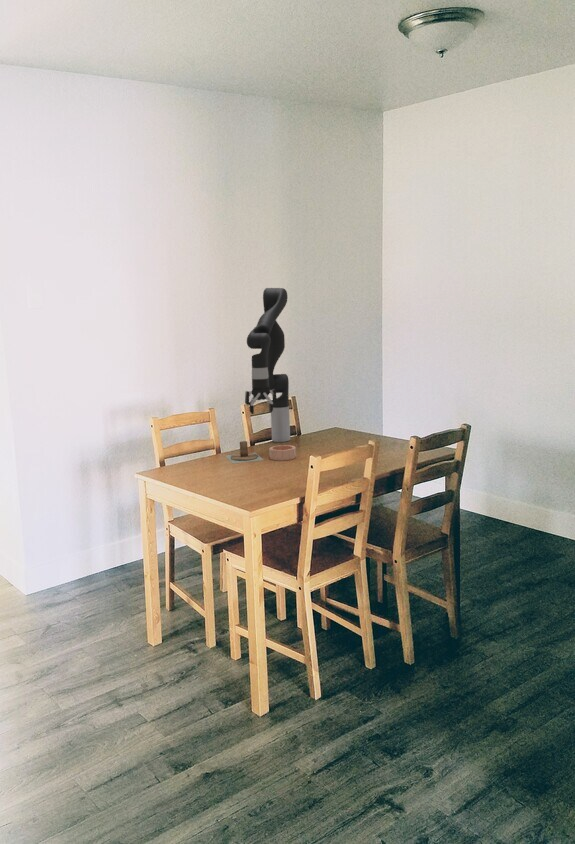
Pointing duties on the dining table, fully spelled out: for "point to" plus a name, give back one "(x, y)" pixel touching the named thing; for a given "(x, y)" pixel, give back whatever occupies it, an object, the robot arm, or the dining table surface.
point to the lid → (244, 453)
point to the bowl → (282, 452)
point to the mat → (243, 461)
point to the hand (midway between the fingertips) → (261, 412)
